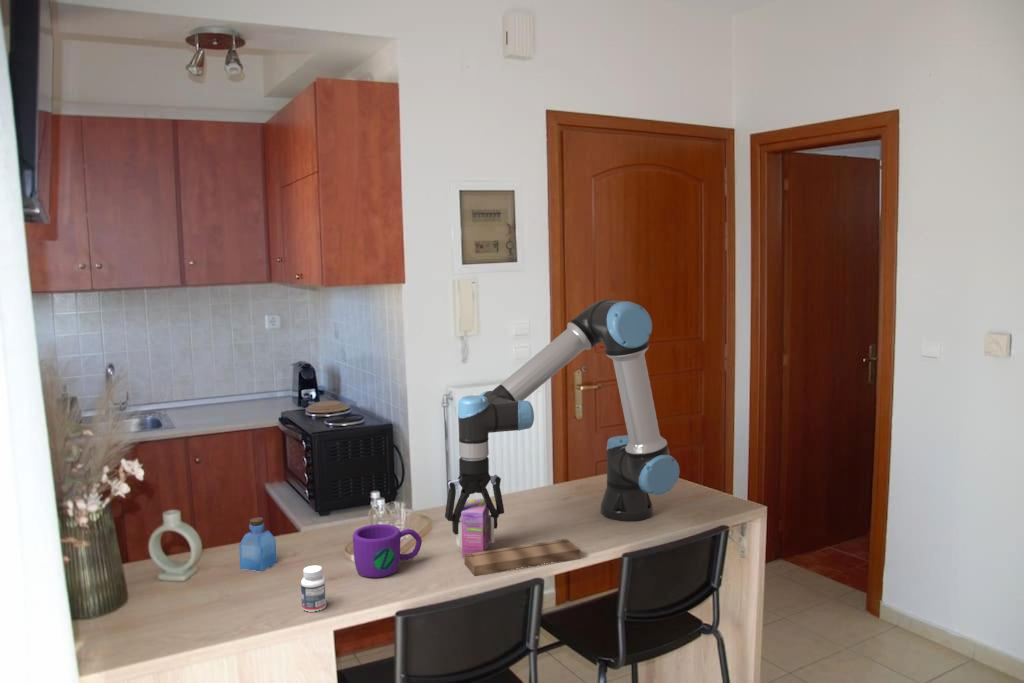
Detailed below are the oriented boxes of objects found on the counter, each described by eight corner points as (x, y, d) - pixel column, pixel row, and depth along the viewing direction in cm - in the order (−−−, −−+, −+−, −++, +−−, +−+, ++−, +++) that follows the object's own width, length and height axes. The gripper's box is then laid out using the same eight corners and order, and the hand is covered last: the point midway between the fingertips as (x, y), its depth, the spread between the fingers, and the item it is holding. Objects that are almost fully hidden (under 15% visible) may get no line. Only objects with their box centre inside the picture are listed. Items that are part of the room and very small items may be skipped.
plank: (566, 547, 209) (566, 538, 208) (580, 558, 201) (580, 548, 201) (464, 563, 199) (464, 553, 198) (474, 576, 191) (474, 565, 191)
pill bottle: (304, 602, 178) (302, 564, 177) (327, 601, 178) (326, 563, 177) (300, 613, 173) (298, 574, 172) (324, 612, 173) (322, 572, 172)
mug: (362, 584, 187) (361, 543, 186) (348, 567, 197) (346, 528, 196) (431, 569, 196) (430, 529, 195) (413, 554, 206) (412, 516, 204)
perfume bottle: (276, 562, 201) (274, 516, 199) (261, 572, 195) (259, 525, 194) (256, 560, 203) (253, 514, 201) (240, 569, 197) (237, 522, 196)
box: (484, 557, 201) (482, 512, 199) (461, 557, 201) (460, 512, 200) (490, 542, 211) (489, 499, 210) (468, 542, 212) (467, 499, 210)
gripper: (506, 449, 210) (507, 532, 212) (430, 457, 202) (432, 543, 205) (517, 456, 203) (518, 542, 205) (438, 464, 195) (440, 554, 198)
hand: (475, 543), depth 205 cm, fingers closed on box, 8 cm apart
